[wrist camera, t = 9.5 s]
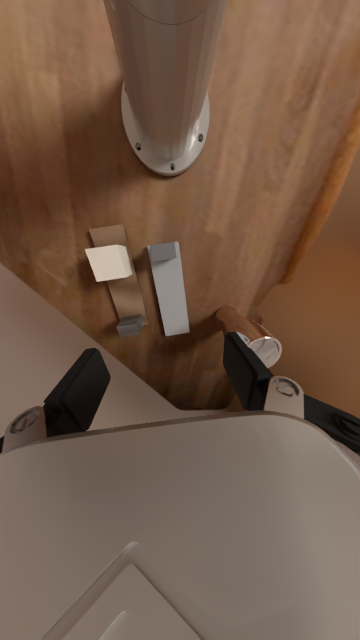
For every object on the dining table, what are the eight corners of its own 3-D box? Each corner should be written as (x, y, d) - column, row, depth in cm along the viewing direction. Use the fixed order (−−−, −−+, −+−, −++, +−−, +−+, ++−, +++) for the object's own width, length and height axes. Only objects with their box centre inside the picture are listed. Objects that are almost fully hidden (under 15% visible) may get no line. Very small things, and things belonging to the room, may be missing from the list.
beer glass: (217, 333, 38) (245, 378, 24) (207, 312, 35) (233, 348, 21) (242, 322, 37) (286, 361, 23) (234, 299, 34) (279, 328, 20)
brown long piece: (91, 229, 26) (71, 223, 21) (124, 225, 26) (112, 217, 21) (123, 326, 35) (115, 339, 29) (148, 322, 35) (144, 334, 29)
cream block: (98, 250, 27) (84, 249, 22) (125, 246, 27) (116, 244, 22) (108, 277, 29) (96, 281, 24) (132, 274, 29) (126, 277, 24)
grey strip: (147, 246, 28) (142, 244, 23) (178, 241, 28) (180, 238, 23) (165, 334, 36) (165, 348, 31) (189, 330, 36) (192, 343, 31)
